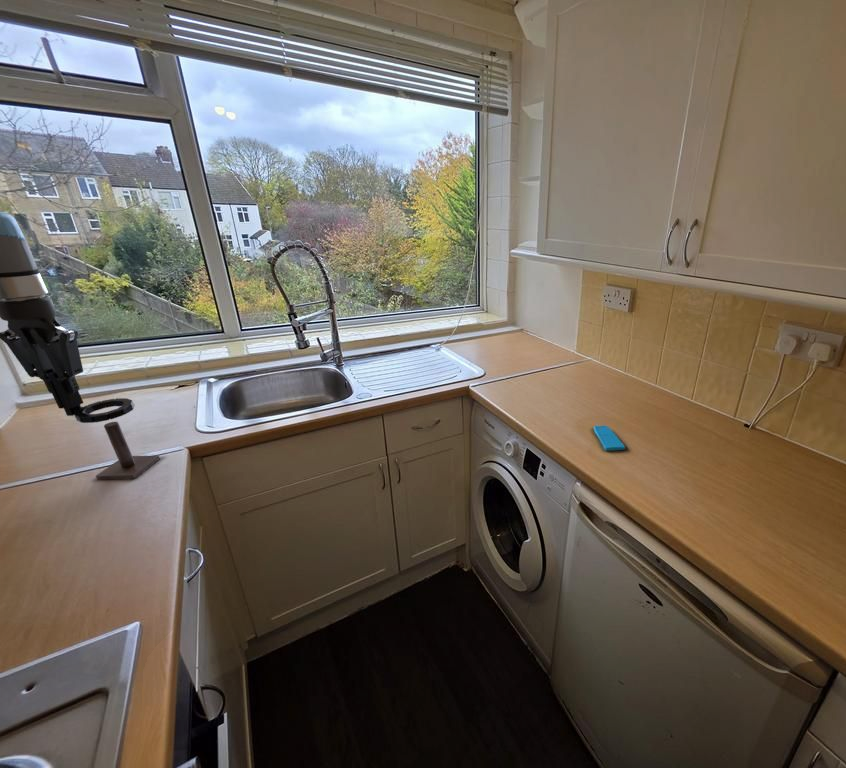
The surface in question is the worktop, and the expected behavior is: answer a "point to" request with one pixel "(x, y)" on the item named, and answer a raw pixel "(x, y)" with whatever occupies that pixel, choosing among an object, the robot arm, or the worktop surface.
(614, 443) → the sponge
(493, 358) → the worktop surface
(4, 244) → the robot arm
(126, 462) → the peg stand
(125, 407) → the ring
